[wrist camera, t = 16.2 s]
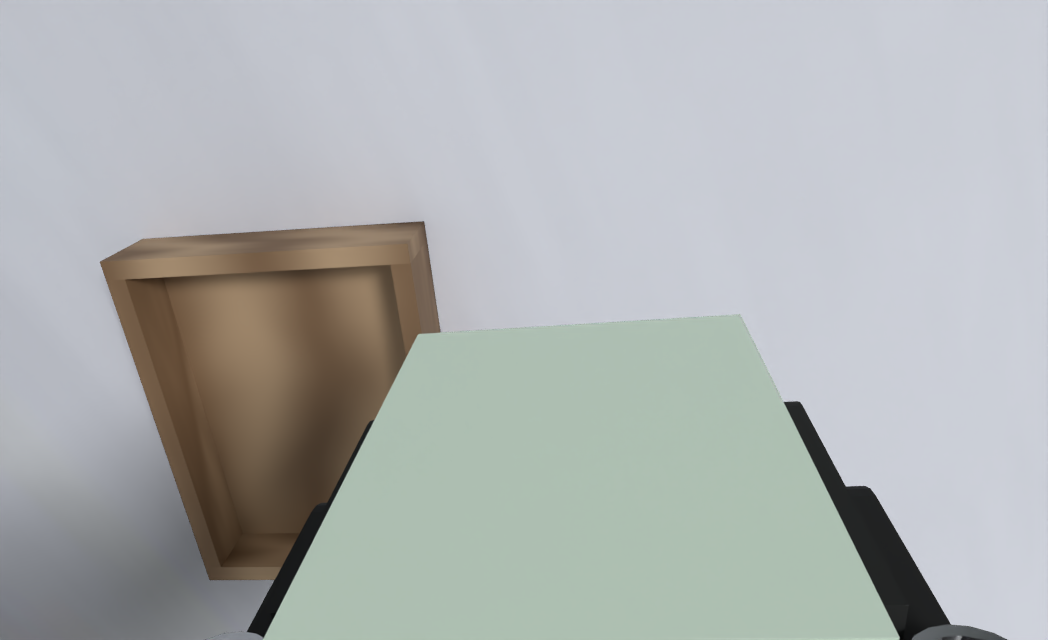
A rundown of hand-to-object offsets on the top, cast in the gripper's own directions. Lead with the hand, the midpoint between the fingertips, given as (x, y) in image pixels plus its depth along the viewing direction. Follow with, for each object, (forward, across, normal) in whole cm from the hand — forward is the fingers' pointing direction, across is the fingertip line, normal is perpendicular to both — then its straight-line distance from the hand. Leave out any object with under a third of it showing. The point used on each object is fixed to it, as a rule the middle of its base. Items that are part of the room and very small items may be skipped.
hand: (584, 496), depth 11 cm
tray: (+19, +13, +9) cm, 25 cm away
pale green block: (+1, 0, 0) cm, 1 cm away
